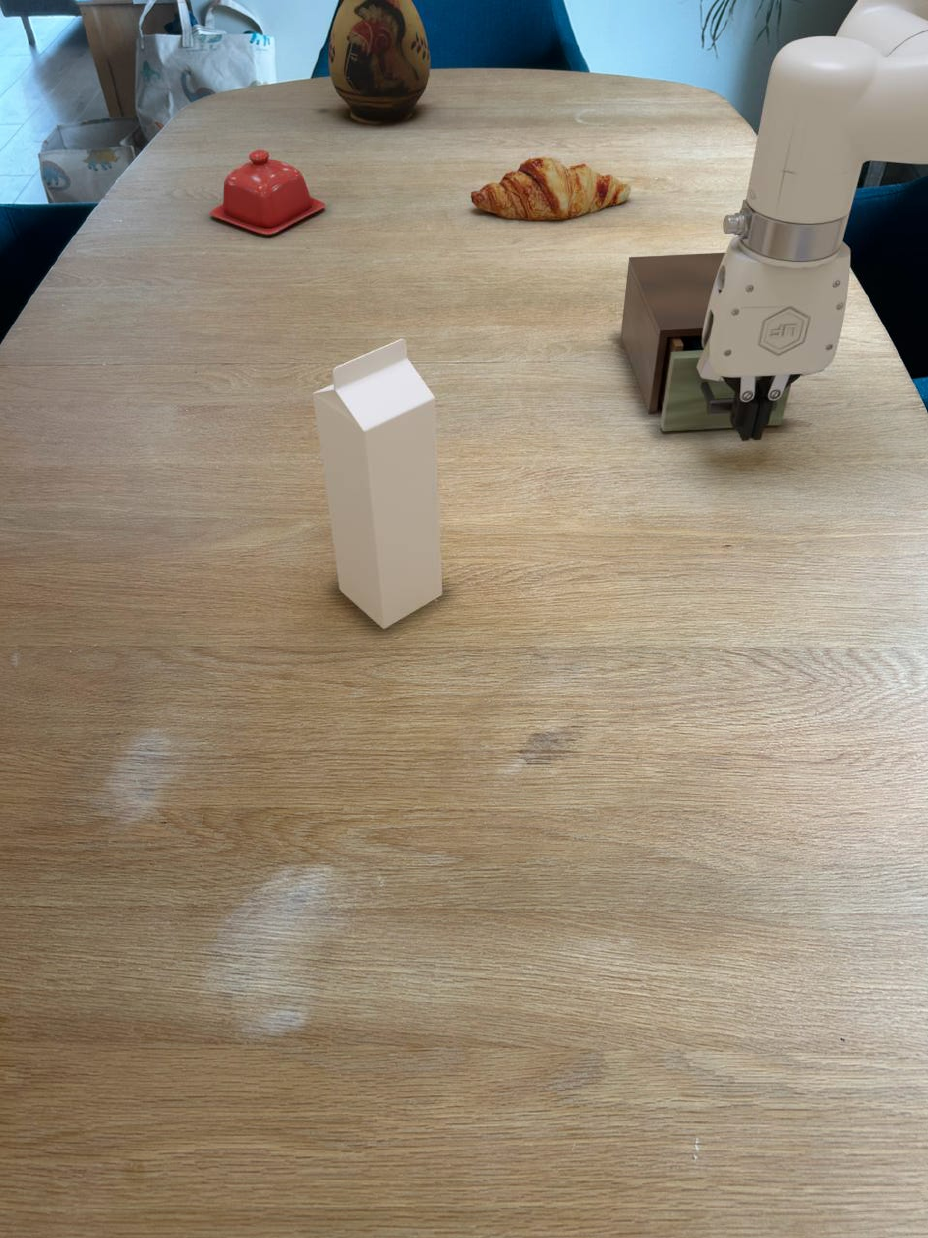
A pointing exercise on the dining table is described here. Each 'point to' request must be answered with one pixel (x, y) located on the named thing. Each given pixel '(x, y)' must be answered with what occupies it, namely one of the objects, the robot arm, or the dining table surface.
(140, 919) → the dining table surface
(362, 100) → the ceramic jug
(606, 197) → the croissant
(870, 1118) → the dining table surface
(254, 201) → the butter dish
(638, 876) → the dining table surface
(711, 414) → the drawer
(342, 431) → the milk
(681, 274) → the cabinet
